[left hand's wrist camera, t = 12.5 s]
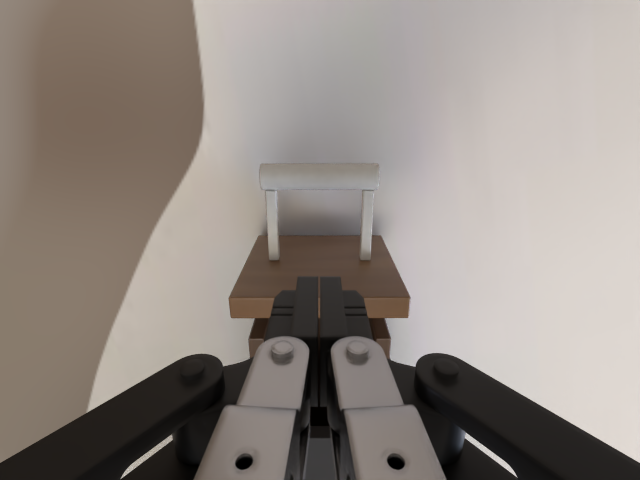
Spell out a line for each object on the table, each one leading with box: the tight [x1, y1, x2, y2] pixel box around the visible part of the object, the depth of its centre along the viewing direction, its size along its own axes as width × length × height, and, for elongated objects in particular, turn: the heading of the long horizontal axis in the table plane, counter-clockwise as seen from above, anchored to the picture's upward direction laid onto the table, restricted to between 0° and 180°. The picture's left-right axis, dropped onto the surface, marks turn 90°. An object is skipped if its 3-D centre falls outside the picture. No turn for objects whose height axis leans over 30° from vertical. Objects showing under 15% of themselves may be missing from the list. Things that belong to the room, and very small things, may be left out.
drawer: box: [229, 164, 411, 426], centre depth 24 cm, size 24×9×9 cm, turn 0°
